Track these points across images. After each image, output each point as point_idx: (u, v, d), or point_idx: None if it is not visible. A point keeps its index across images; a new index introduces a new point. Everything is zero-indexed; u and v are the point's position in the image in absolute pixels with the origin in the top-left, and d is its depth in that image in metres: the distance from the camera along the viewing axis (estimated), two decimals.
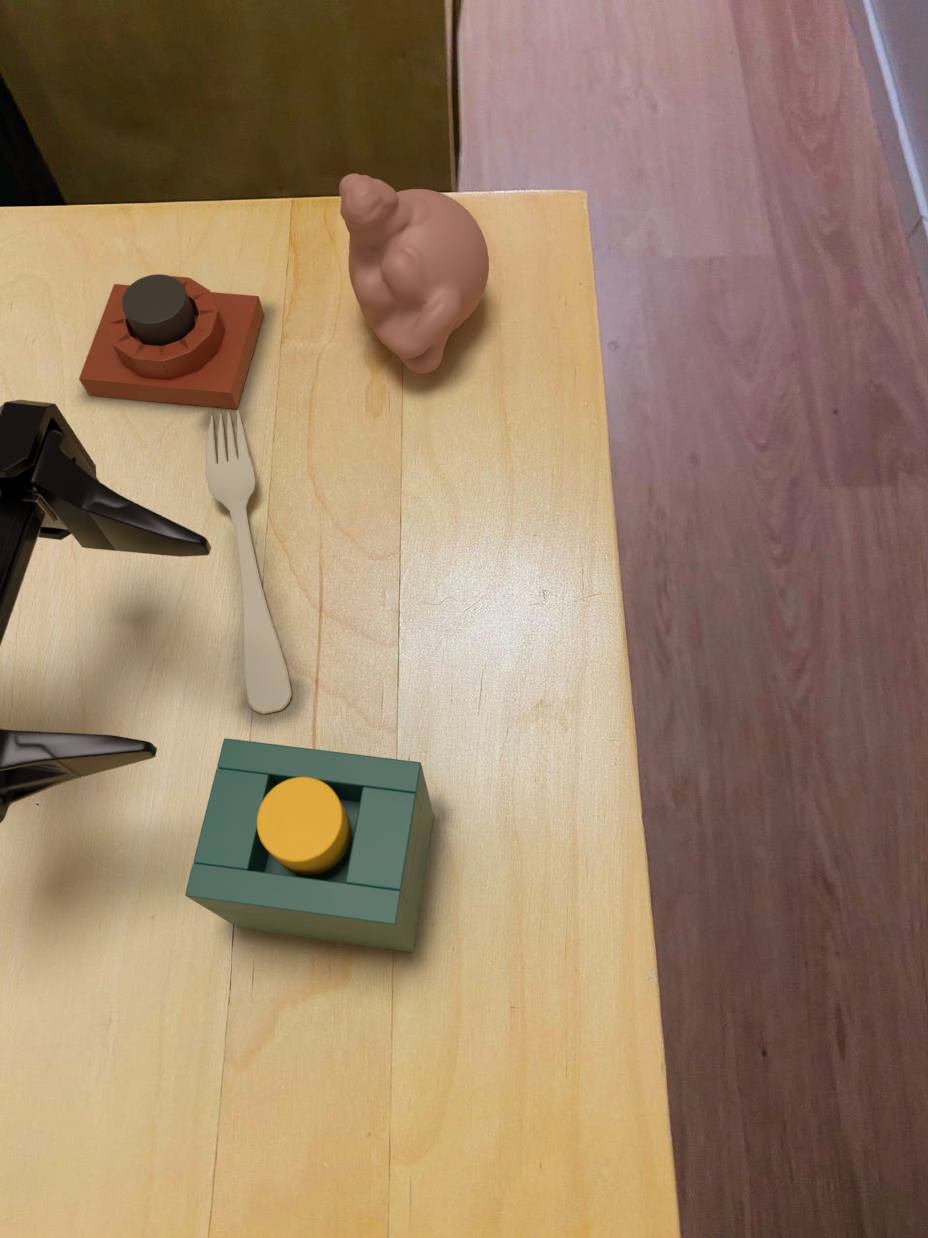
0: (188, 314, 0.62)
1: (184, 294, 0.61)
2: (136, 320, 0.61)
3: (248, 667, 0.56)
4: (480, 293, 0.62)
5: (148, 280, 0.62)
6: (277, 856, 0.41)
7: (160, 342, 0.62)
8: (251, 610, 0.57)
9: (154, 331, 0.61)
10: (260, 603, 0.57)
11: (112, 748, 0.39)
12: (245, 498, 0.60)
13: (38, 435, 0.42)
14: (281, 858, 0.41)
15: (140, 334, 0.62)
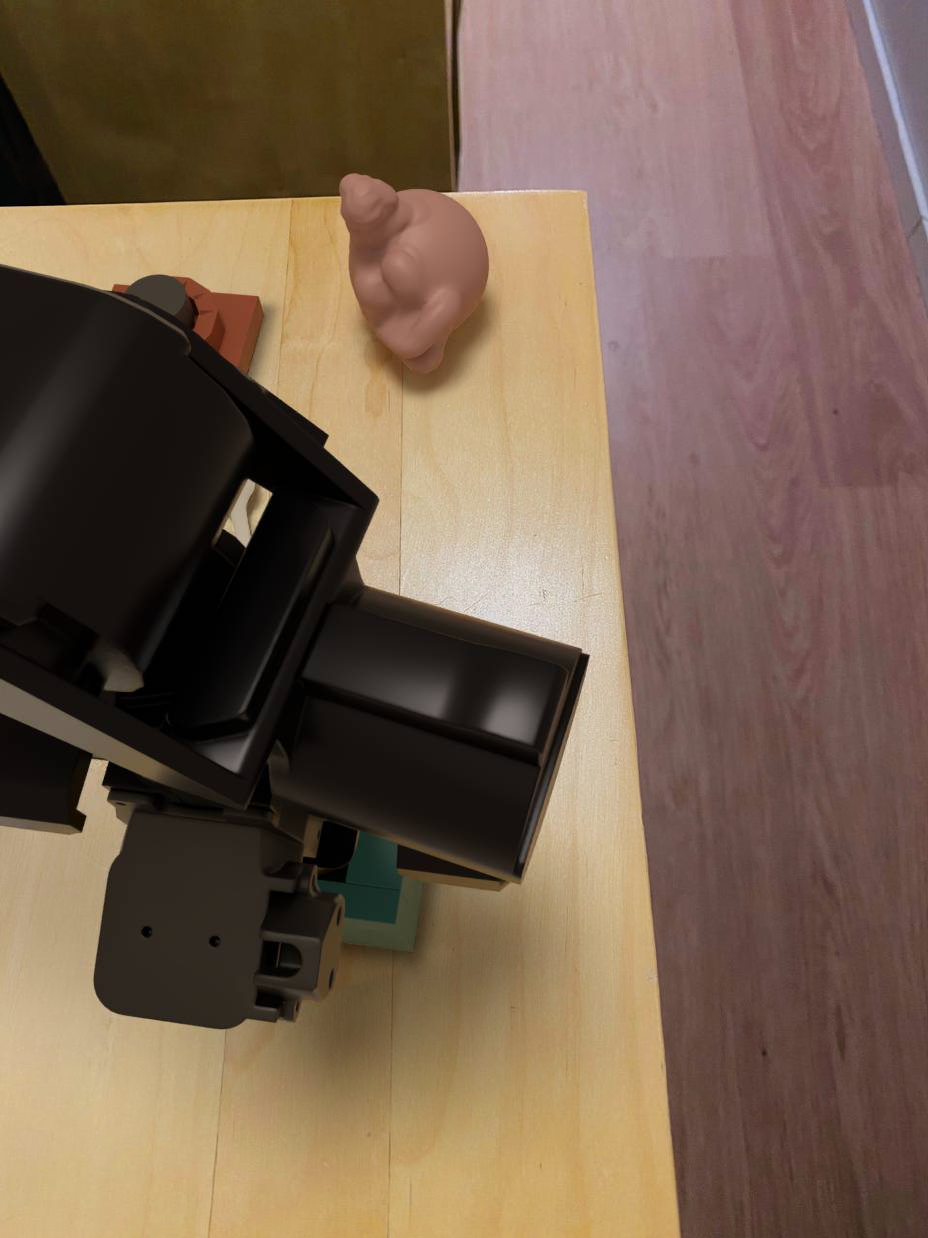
0: (188, 314, 0.62)
1: (184, 294, 0.61)
2: None
3: None
4: (480, 293, 0.62)
5: (148, 280, 0.62)
6: None
7: None
8: None
9: None
10: None
11: None
12: (245, 499, 0.60)
13: None
14: None
15: None
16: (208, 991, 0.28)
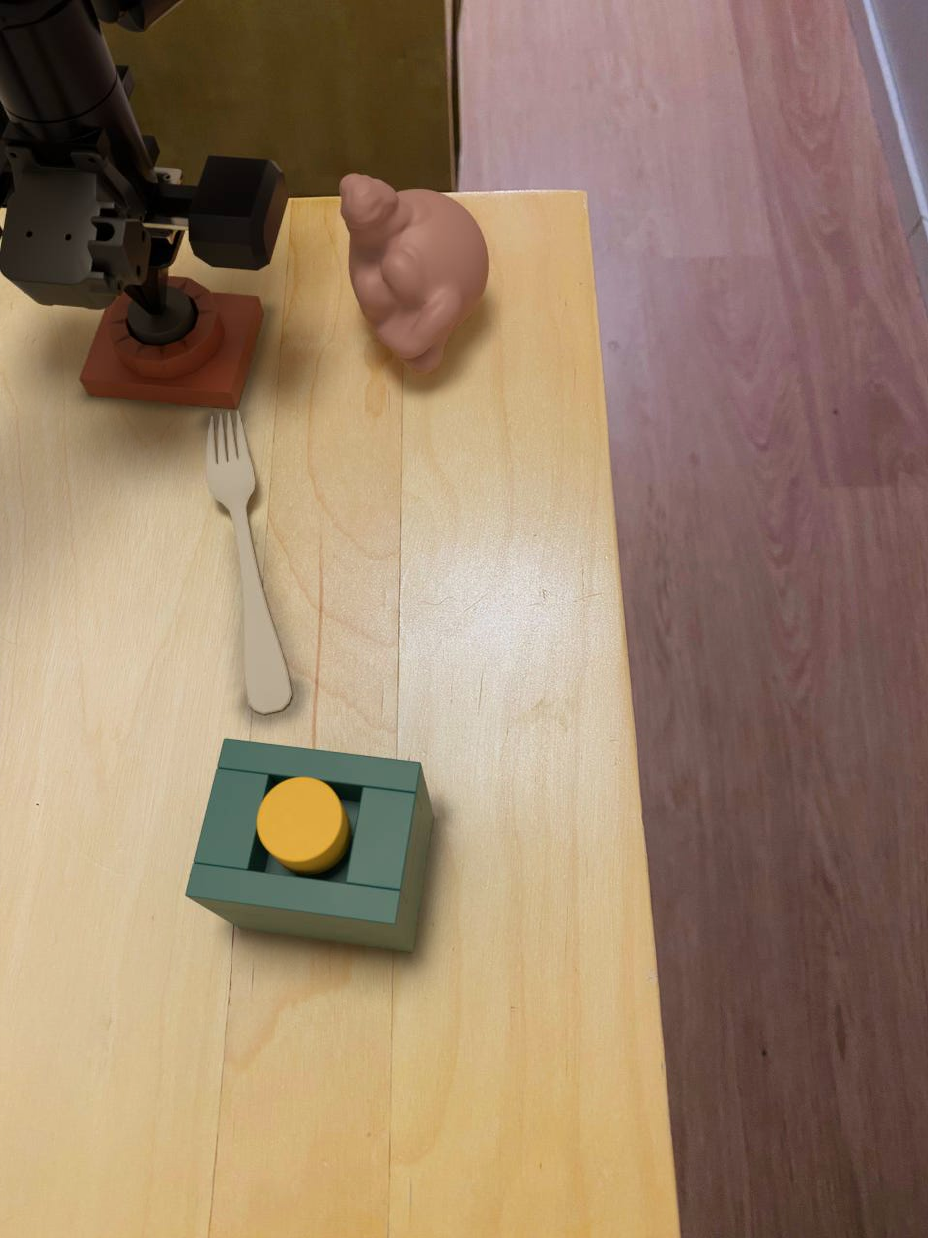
0: (192, 324, 0.63)
1: (188, 305, 0.62)
2: (141, 330, 0.62)
3: (248, 667, 0.56)
4: (480, 293, 0.62)
5: None
6: (277, 856, 0.41)
7: None
8: (251, 610, 0.57)
9: (158, 341, 0.62)
10: (261, 603, 0.57)
11: (139, 303, 0.61)
12: (245, 499, 0.60)
13: (233, 266, 0.54)
14: (281, 858, 0.41)
15: (144, 344, 0.63)
16: (64, 264, 0.49)
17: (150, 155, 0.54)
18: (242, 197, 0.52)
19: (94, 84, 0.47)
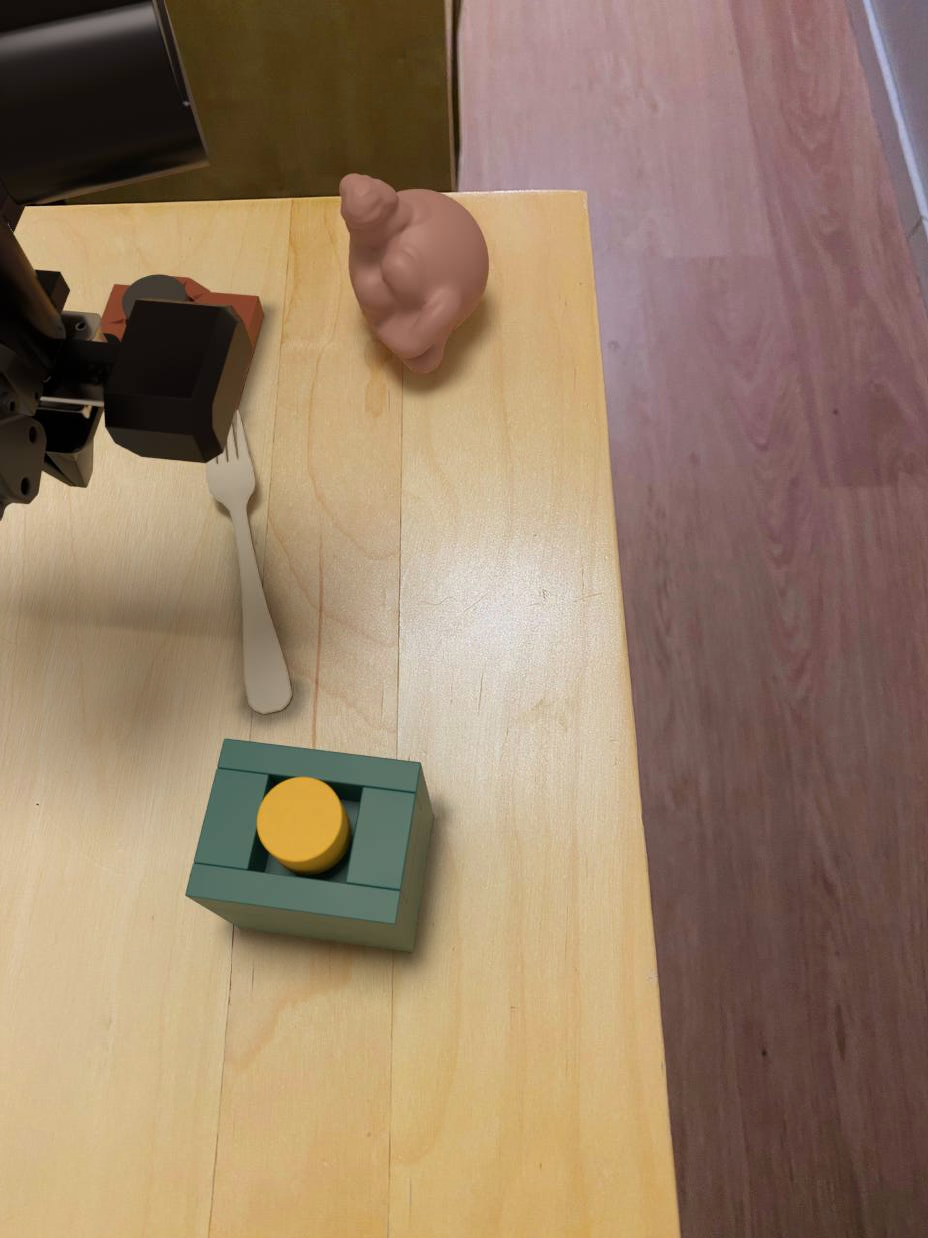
0: None
1: (184, 294, 0.61)
2: None
3: (248, 667, 0.56)
4: (480, 293, 0.62)
5: (148, 280, 0.62)
6: (277, 856, 0.41)
7: None
8: (251, 610, 0.57)
9: None
10: (261, 603, 0.57)
11: (54, 476, 0.45)
12: (245, 499, 0.60)
13: (172, 455, 0.38)
14: (281, 858, 0.41)
15: None
16: None
17: (54, 300, 0.38)
18: (182, 365, 0.36)
19: None
